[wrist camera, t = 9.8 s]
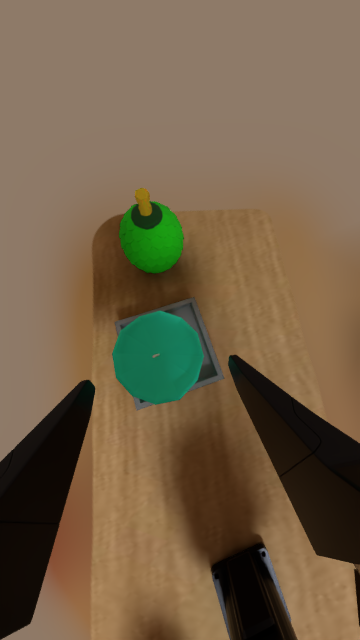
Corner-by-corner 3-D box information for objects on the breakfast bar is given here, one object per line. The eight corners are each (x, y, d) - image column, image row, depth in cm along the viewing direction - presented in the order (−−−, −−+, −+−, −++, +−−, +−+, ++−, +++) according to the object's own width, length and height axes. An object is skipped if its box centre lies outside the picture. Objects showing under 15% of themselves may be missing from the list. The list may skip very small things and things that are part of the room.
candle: (198, 360, 19) (229, 379, 8) (158, 382, 19) (126, 441, 7) (177, 321, 20) (176, 286, 9) (139, 342, 20) (81, 334, 8)
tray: (219, 375, 20) (224, 378, 18) (141, 403, 19) (136, 410, 17) (192, 301, 22) (194, 296, 20) (120, 324, 21) (114, 321, 19)
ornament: (186, 278, 22) (193, 224, 12) (135, 287, 22) (100, 238, 12) (177, 234, 24) (177, 155, 14) (129, 241, 23) (93, 165, 14)
